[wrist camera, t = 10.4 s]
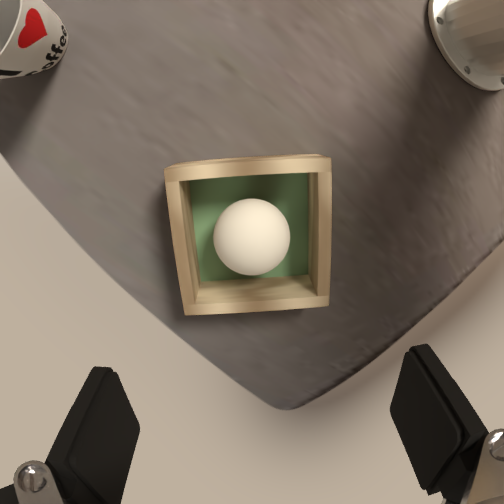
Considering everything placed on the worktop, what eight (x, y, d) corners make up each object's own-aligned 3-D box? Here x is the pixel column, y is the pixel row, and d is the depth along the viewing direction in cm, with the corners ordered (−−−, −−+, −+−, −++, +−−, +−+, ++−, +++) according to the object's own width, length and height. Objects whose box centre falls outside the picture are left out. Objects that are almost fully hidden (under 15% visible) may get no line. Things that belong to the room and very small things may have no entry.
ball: (284, 190, 27) (294, 206, 22) (286, 256, 29) (295, 286, 24) (213, 194, 27) (204, 211, 22) (220, 260, 29) (213, 291, 24)
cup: (44, 100, 24) (-25, 98, 14) (6, 61, 21) (-58, 52, 12) (97, 33, 22) (39, 2, 12) (54, -1, 19) (-3, -31, 10)
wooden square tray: (317, 154, 26) (331, 158, 22) (317, 282, 31) (328, 305, 26) (176, 163, 26) (163, 169, 22) (192, 290, 31) (184, 315, 26)
